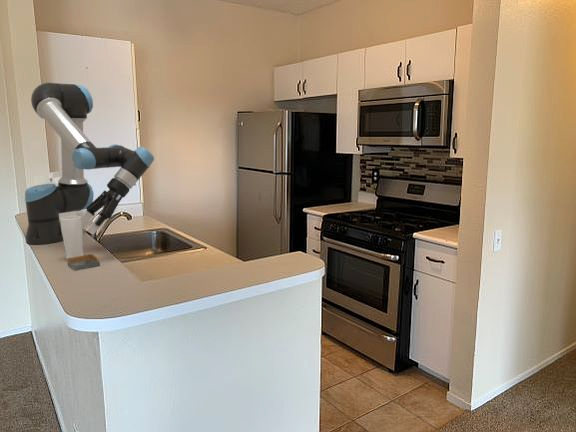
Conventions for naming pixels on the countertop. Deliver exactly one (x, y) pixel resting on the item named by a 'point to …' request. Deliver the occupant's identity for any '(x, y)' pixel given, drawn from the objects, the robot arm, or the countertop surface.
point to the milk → (54, 180)
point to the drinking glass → (72, 235)
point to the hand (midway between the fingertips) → (83, 230)
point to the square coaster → (83, 262)
